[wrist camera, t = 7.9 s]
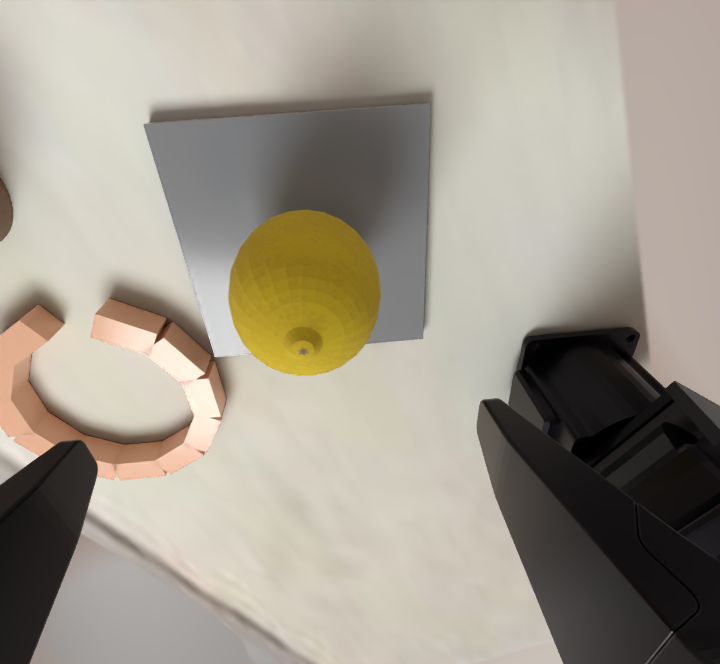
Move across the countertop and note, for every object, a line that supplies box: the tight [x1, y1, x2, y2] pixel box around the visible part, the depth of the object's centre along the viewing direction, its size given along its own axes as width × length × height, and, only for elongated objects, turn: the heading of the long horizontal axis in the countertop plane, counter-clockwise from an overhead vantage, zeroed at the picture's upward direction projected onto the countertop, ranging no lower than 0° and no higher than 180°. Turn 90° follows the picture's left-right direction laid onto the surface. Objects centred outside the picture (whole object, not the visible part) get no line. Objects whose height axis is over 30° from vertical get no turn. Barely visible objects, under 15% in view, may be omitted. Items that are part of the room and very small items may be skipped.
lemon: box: [228, 210, 381, 375], centre depth 16 cm, size 6×6×8 cm
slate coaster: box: [143, 103, 431, 357], centre depth 19 cm, size 11×11×1 cm
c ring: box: [0, 298, 226, 480], centre depth 22 cm, size 11×11×2 cm
